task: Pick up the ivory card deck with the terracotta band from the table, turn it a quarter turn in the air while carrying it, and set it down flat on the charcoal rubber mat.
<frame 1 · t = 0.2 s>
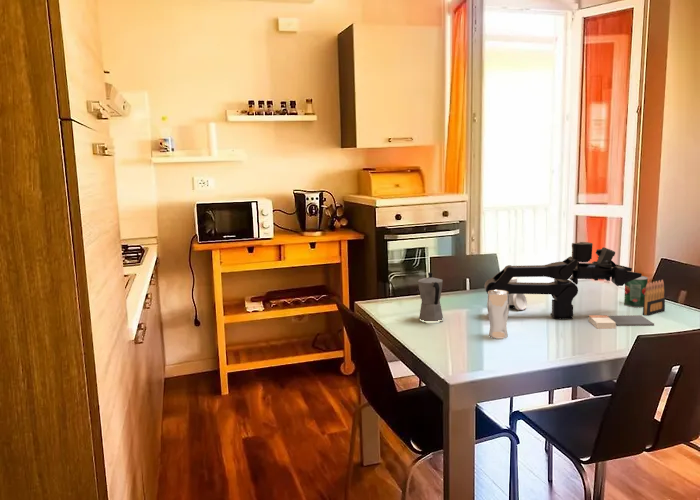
hand: (636, 272, 200), 16 cm above the table, tool horizontal, fingers open, 9 cm apart
spread jar: (512, 308, 222), on the table
card deck: (601, 325, 195), on the table
coffeepot: (431, 321, 207), on the table
ammunition clip: (653, 313, 207), on the table
beer glass: (498, 336, 186), on the table
canned tomato: (635, 305, 219), on the table
card mat: (629, 321, 198), on the table
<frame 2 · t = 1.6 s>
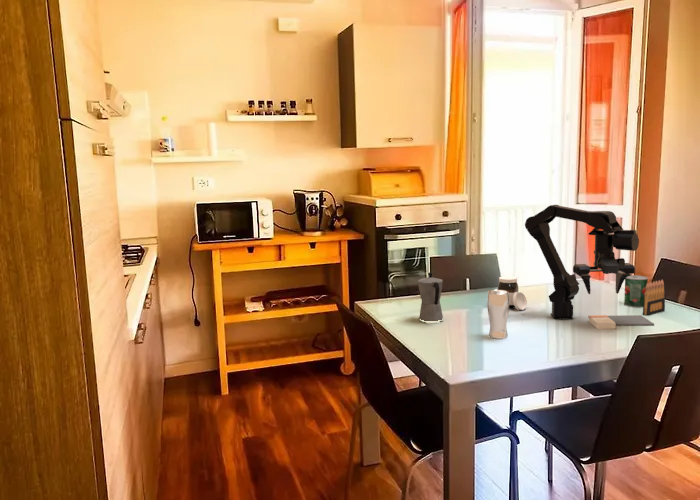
hand: (603, 293, 193), 11 cm above the table, tool pointing down, fingers open, 9 cm apart
nothing on the table moved.
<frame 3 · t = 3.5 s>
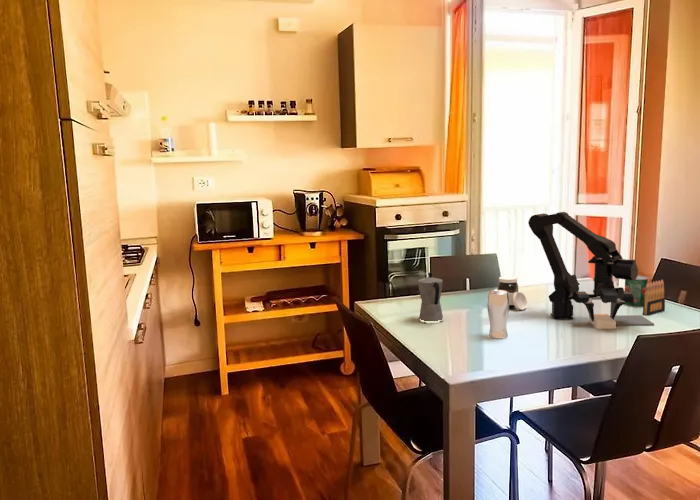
hand: (602, 321, 195), 1 cm above the table, tool pointing down, fingers closed on card deck, 6 cm apart
card deck: (602, 324, 195), on the table, touching gripper
everything else where it was.
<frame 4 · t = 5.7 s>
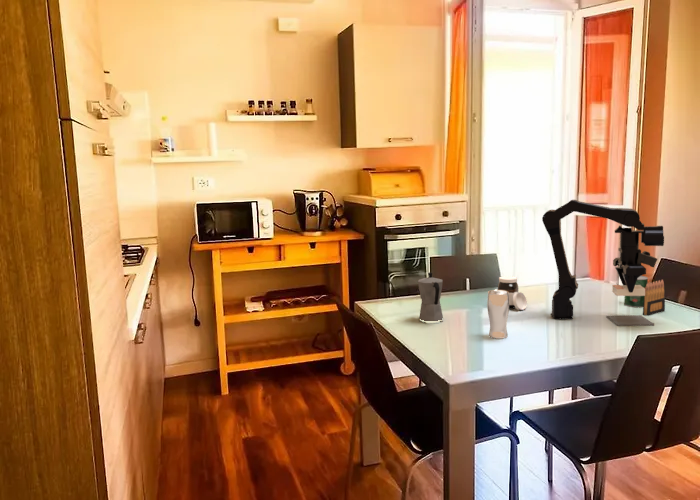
hand: (628, 290, 196), 11 cm above the table, tool pointing down, fingers closed on card deck, 6 cm apart
card deck: (628, 293, 196), point 10 cm above the table, touching gripper
everything else where it was.
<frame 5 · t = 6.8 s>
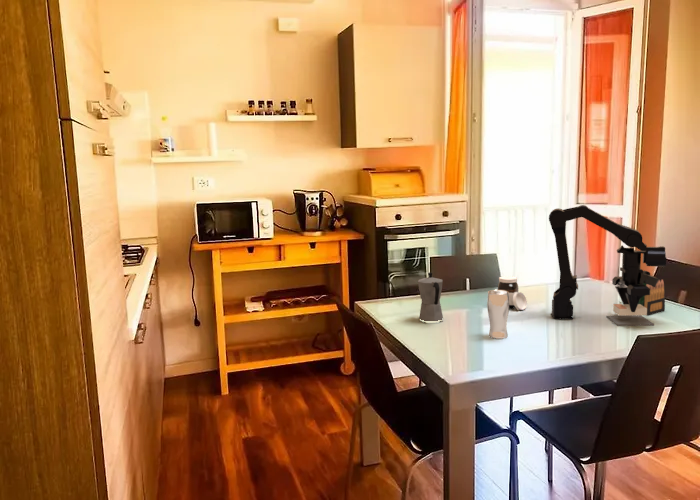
hand: (629, 309, 197), 4 cm above the table, tool pointing down, fingers closed on card deck, 6 cm apart
card deck: (629, 313, 197), point 3 cm above the table, touching gripper
everything else where it was.
when the fingers open (3 cm above the table, at t = 7.9 s): card deck stays where it is, resting on card mat.
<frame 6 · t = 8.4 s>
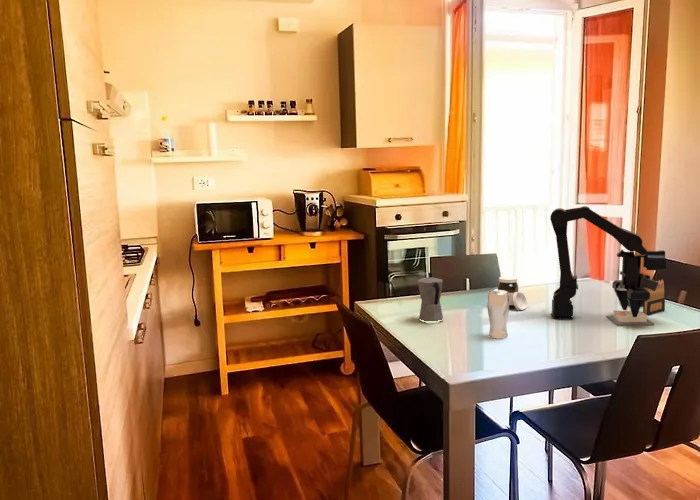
hand: (629, 313, 197), 3 cm above the table, tool pointing down, fingers open, 9 cm apart
card deck: (629, 319, 198), point 1 cm above the table, touching card mat
everything else where it was.
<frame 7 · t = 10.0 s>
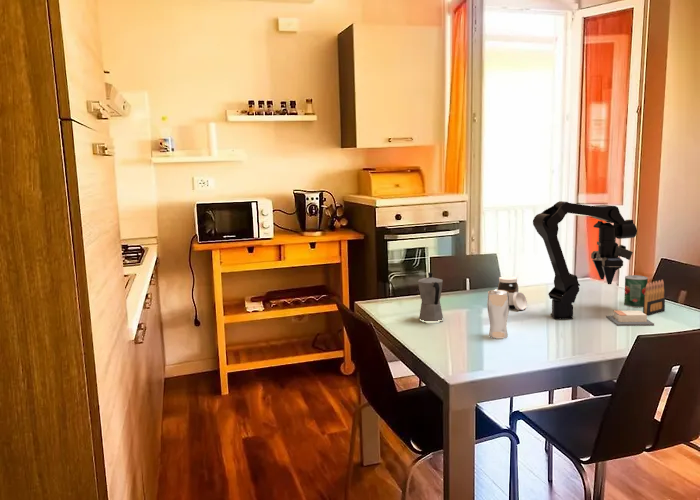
hand: (605, 281, 208), 12 cm above the table, tool pointing down, fingers open, 9 cm apart
nothing on the table moved.
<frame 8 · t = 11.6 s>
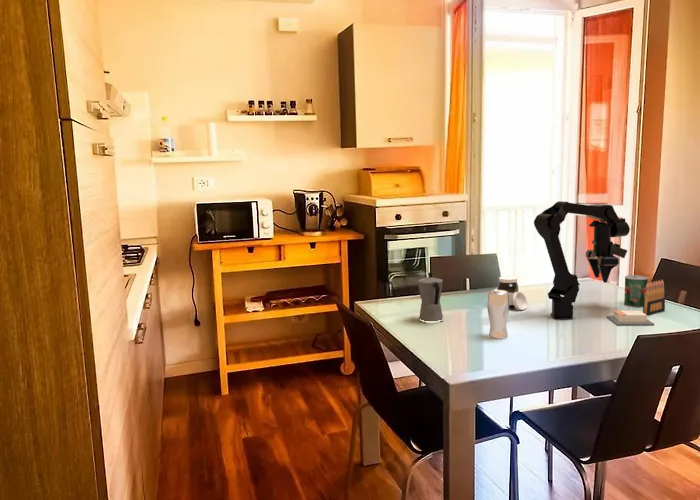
hand: (600, 279, 210), 12 cm above the table, tool pointing down, fingers open, 9 cm apart
nothing on the table moved.
at the end: card deck 0.0 cm off-centre on the card mat, point 0.6 cm above the card mat's base; card deck tilted 0°; the gripper is holding nothing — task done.
